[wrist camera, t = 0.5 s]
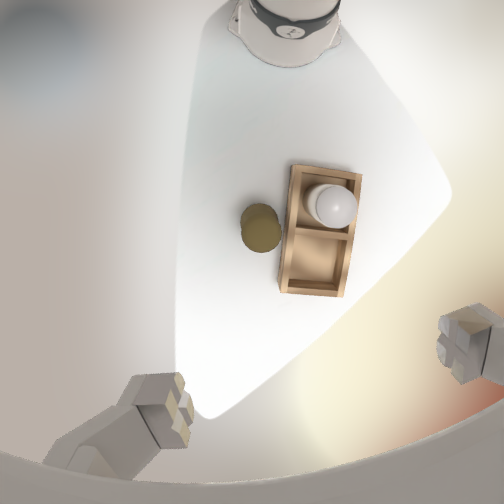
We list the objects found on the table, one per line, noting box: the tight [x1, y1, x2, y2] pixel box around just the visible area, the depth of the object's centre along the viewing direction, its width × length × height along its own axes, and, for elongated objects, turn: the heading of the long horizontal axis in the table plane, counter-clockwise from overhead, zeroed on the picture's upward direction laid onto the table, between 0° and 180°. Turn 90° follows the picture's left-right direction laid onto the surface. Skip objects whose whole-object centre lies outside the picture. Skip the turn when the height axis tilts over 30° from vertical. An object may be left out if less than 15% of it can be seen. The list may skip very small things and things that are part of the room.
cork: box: [240, 204, 282, 253], centre depth 44 cm, size 6×6×11 cm
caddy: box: [278, 164, 362, 297], centre depth 47 cm, size 19×10×5 cm, turn 174°
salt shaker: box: [302, 183, 357, 228], centre depth 42 cm, size 6×6×10 cm
